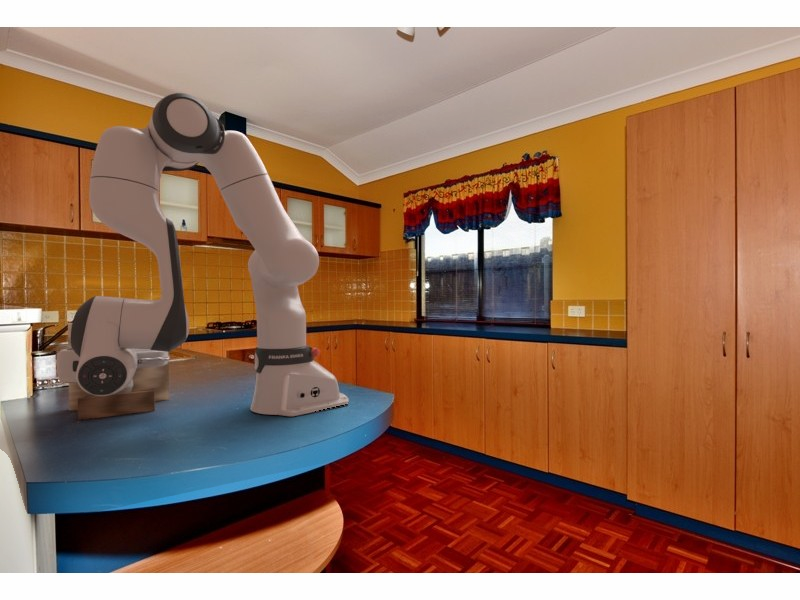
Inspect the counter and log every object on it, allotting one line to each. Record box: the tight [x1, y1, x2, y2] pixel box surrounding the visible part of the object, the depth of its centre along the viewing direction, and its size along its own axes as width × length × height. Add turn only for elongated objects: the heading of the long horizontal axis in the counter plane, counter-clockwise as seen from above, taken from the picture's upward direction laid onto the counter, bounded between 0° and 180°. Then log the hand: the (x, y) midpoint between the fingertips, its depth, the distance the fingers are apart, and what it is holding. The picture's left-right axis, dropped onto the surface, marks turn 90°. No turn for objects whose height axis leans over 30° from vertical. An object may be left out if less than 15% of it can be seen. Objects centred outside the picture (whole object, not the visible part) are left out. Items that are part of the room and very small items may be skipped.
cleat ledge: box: [77, 389, 156, 421], centre depth 95 cm, size 14×10×4 cm
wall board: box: [67, 322, 170, 412], centre depth 101 cm, size 20×2×20 cm, turn 120°
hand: (118, 354), depth 97 cm, fingers open, 3 cm apart
